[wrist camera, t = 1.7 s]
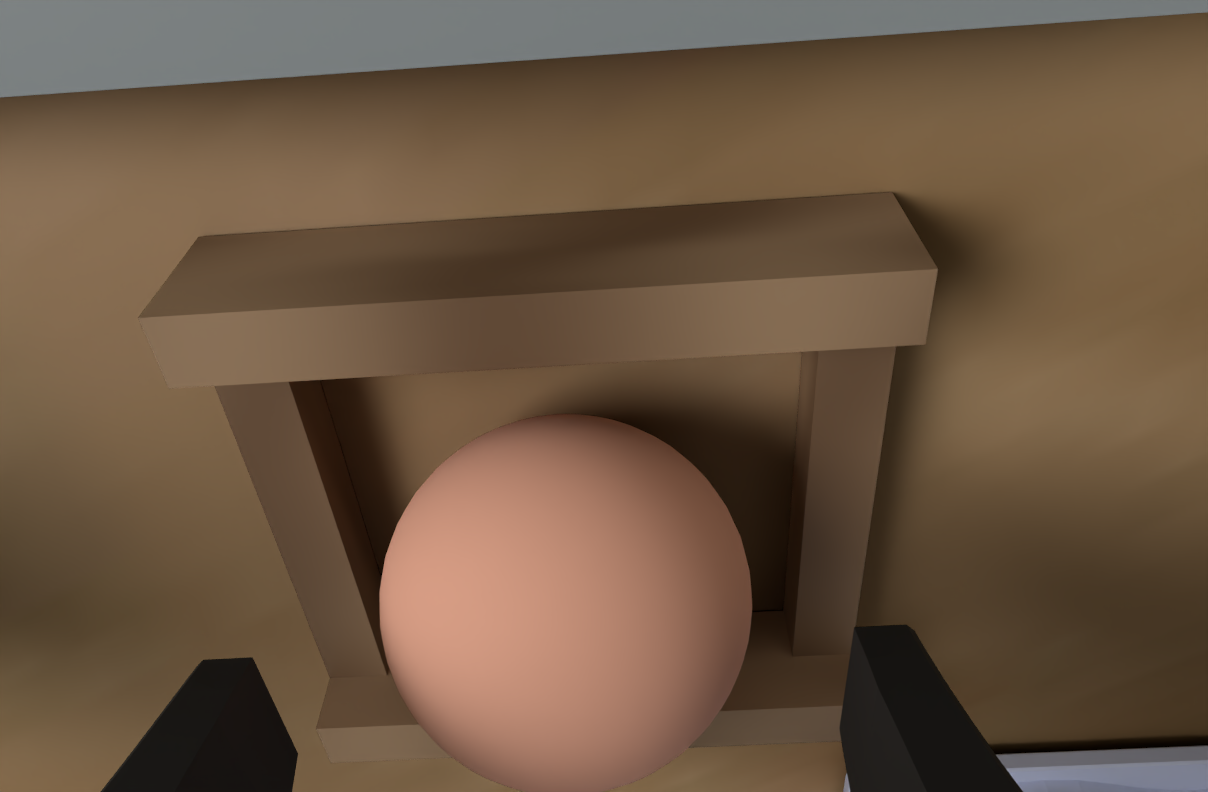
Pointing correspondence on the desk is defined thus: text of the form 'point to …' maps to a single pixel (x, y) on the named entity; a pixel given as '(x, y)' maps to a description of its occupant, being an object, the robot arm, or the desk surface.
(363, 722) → the frame
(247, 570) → the desk surface
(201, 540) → the desk surface
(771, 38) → the tray
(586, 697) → the ball
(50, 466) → the desk surface
